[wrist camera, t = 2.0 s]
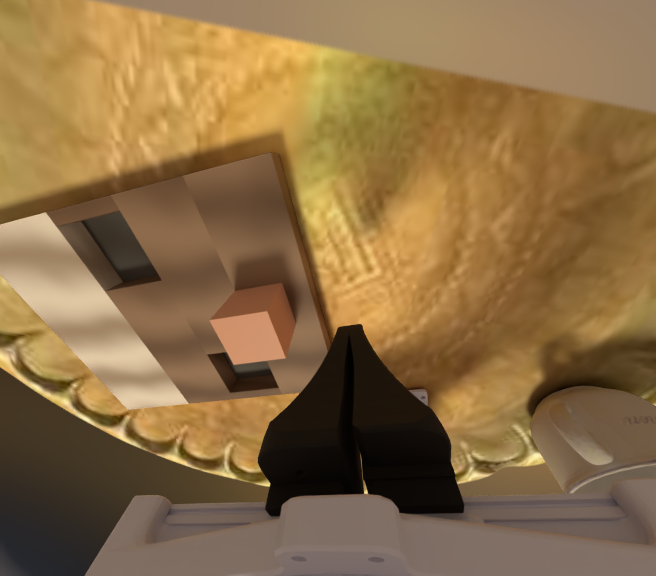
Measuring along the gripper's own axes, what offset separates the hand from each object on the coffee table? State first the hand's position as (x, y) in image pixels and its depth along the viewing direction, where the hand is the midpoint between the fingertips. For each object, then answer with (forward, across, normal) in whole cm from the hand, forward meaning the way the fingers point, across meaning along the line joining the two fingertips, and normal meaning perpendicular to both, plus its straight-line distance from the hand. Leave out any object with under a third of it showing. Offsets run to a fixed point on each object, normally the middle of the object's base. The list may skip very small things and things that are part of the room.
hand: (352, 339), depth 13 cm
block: (+5, +7, 0) cm, 9 cm away
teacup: (+8, -20, +18) cm, 28 cm away
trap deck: (+7, +16, 0) cm, 17 cm away
